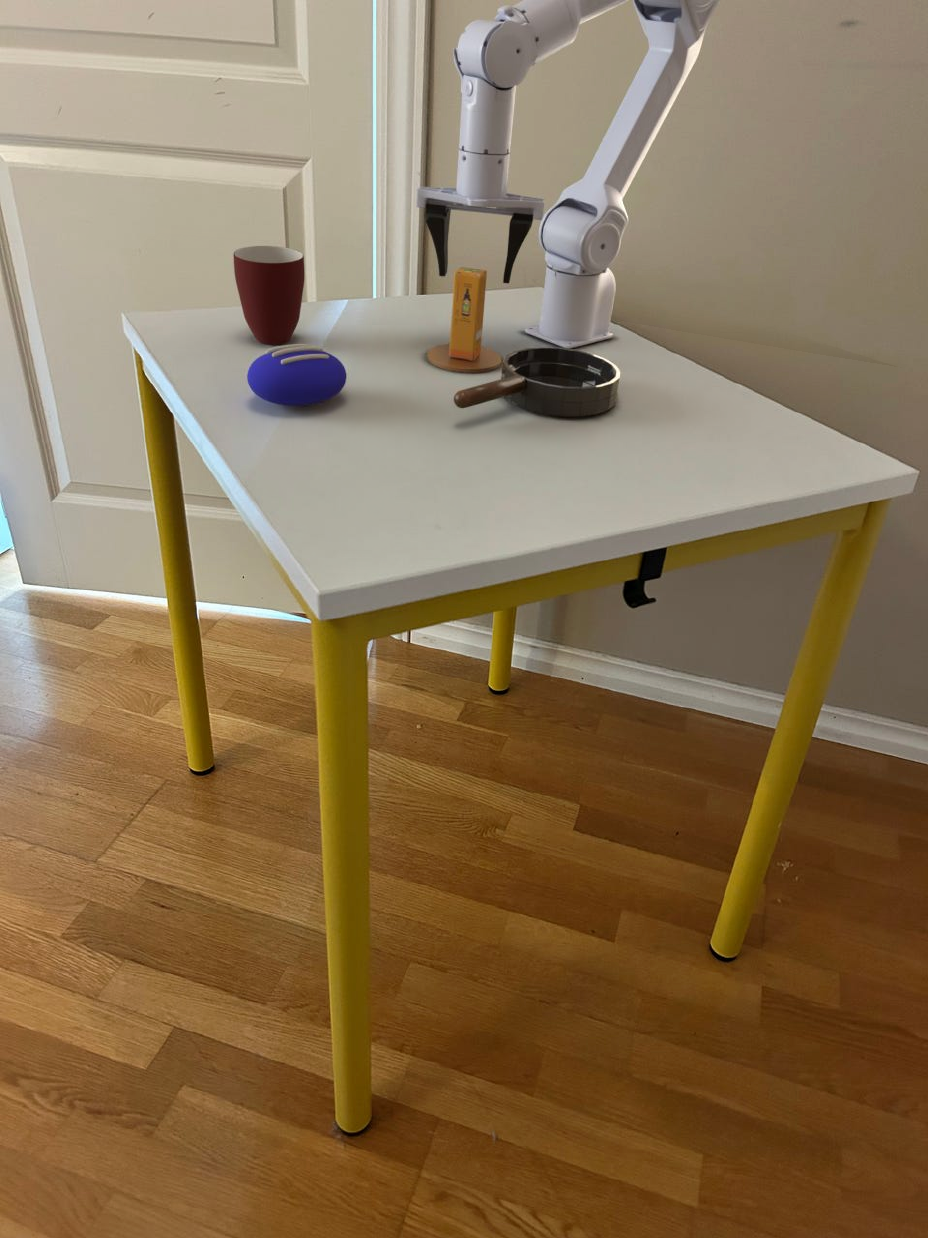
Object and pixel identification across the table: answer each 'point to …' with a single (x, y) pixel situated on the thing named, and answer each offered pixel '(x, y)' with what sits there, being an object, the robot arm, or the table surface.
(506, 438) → the table surface
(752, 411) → the table surface
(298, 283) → the mug
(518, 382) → the pan handle
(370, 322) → the table surface
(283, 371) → the decorative object
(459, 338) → the supplement box
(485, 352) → the disc
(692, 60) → the robot arm
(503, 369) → the pan
